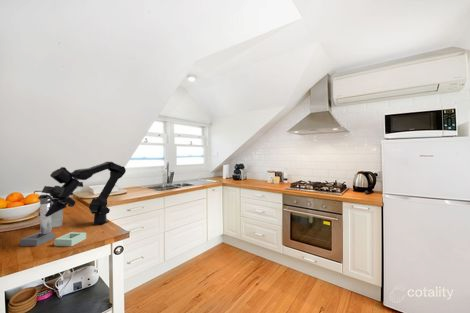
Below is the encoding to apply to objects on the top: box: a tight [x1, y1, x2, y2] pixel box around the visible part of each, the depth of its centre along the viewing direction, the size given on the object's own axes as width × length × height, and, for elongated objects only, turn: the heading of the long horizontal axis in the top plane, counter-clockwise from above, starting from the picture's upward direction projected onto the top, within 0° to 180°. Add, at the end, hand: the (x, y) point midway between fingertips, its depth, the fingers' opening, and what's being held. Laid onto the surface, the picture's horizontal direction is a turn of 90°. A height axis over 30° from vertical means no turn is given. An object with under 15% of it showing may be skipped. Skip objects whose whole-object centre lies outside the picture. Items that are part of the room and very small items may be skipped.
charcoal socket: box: [19, 231, 55, 247], centre depth 95 cm, size 8×8×3 cm
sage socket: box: [53, 231, 87, 247], centre depth 96 cm, size 8×8×3 cm
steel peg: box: [39, 198, 53, 233], centre depth 94 cm, size 4×4×16 cm
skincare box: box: [52, 208, 64, 229], centre depth 117 cm, size 8×7×16 cm
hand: (42, 215), depth 93 cm, fingers closed on steel peg, 4 cm apart
